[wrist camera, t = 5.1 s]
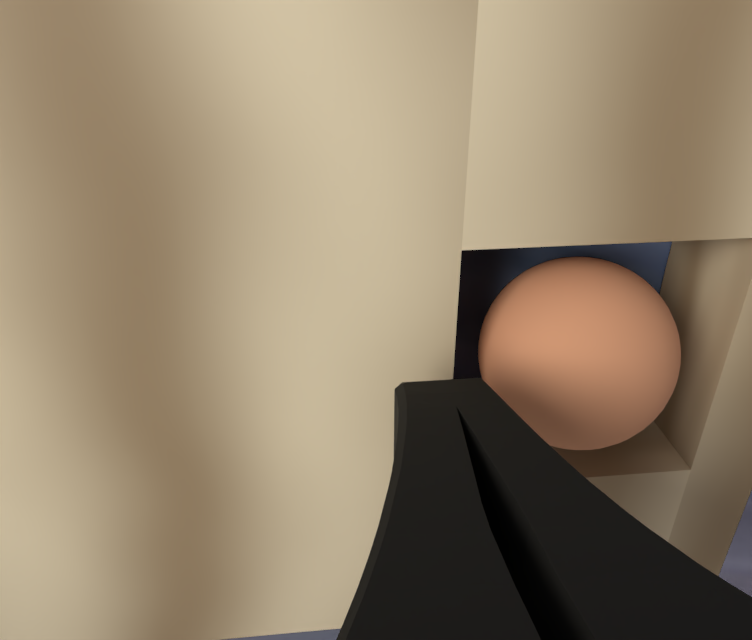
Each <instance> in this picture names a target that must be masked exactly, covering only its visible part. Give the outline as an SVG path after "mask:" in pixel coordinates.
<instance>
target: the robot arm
mask: <svg viewBox="0 0 752 640" xmlns="http://www.w3.org/2000/svg"><path fill="white" fill-rule="evenodd" d="M336 640H752V597H751V596H749V595H747V594H746V593H744V592H742V591H741V590H739V589H737V588H736V587H734V586H733V585H731V584H729V583H728V582H726V581H725V580H723V579H722V578H720V577H718V576H717V575H715V574H714V573H712V572H711V571H709V570H708V569H706V568H705V567H703V566H702V565H700V564H699V563H697V562H696V561H694V560H693V559H691V558H690V557H689V556H687V555H686V554H684V553H683V552H681V551H680V550H679V549H677V548H676V547H674V546H673V545H672V544H670V543H669V542H667V541H666V540H664V539H663V538H662V537H660V536H659V535H657V534H656V533H655V532H653V531H652V530H650V529H649V528H648V527H646V526H645V525H644V524H642V523H641V522H640V521H638V520H637V519H636V518H634V517H633V516H632V515H630V514H629V513H628V512H627V511H625V510H624V509H623V508H622V507H620V506H619V505H618V504H617V503H615V502H614V501H613V500H612V499H611V498H609V497H608V496H607V495H606V494H604V493H603V492H602V491H601V490H599V489H598V488H597V487H596V486H595V485H593V484H592V483H591V482H590V481H589V480H587V479H586V478H585V477H584V476H583V475H582V474H580V473H579V472H578V471H577V470H576V469H575V468H574V467H573V466H572V465H570V464H569V463H568V462H567V461H566V460H565V459H564V458H563V457H562V456H561V455H560V454H558V453H557V452H556V451H555V450H554V449H553V448H552V447H551V446H550V445H549V444H547V443H546V442H545V441H544V440H543V439H542V438H541V437H540V436H539V435H538V434H537V433H536V432H535V431H534V430H533V429H532V428H531V427H530V426H529V425H528V424H527V423H526V422H525V421H524V420H523V419H522V418H521V417H520V416H519V415H518V414H517V413H516V412H515V411H514V410H513V409H512V408H511V407H510V406H509V405H508V404H507V403H506V402H505V401H504V400H503V399H502V398H501V397H500V396H499V395H498V394H497V393H496V392H495V391H494V390H493V389H492V388H491V387H490V386H489V385H488V384H487V383H486V382H485V381H483V380H482V379H481V378H466V379H449V380H433V381H416V382H402V383H401V384H400V385H399V386H397V387H396V388H395V391H394V461H393V467H392V473H391V478H390V482H389V487H388V490H387V494H386V498H385V502H384V506H383V510H382V514H381V518H380V521H379V525H378V528H377V532H376V535H375V538H374V541H373V545H372V548H371V551H370V554H369V557H368V560H367V563H366V565H365V568H364V571H363V574H362V577H361V580H360V582H359V585H358V588H357V590H356V593H355V595H354V598H353V600H352V603H351V605H350V608H349V610H348V613H347V615H346V618H345V620H344V623H343V625H342V628H341V630H340V633H339V635H338V637H337V639H336Z"/></svg>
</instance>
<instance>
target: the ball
mask: <svg viewBox="0 0 752 640" xmlns="http://www.w3.org/2000/svg"><path fill="white" fill-rule="evenodd" d="M478 358H479V367H480V372H481V376H482V380H483V381H485V382H486V383H487V384H488V385H489V386H490V387H491V388H492V389H493V390H494V391H495V392H496V393H497V394H498V395H499V396H500V397H501V398H502V399H503V400H504V401H505V402H506V403H507V404H508V405H509V406H510V407H511V408H512V409H513V410H514V411H515V412H516V413H517V414H518V415H519V416H520V417H521V418H522V419H523V420H524V421H525V422H526V423H527V424H528V425H529V426H530V427H531V428H532V429H533V430H534V431H535V432H536V433H537V434H538V435H539V436H540V437H541V438H542V439H543V440H544V441H545V442H546V443H547V444H549V445H550V446H553V447H557V448H562V449H569V450H593V449H600V448H605V447H608V446H612V445H615V444H618V443H621V442H623V441H625V440H628V439H629V438H631V437H633V436H634V435H636V434H637V433H639V432H641V431H642V430H644V429H645V428H646V427H647V426H648V425H649V424H651V423H652V422H653V421H654V420H655V419H656V418H657V416H658V415H659V414H660V413H661V412H662V410H663V409H664V408H665V406H666V404H667V403H668V401H669V399H670V397H671V395H672V394H673V391H674V389H675V386H676V383H677V380H678V376H679V371H680V365H681V346H680V339H679V333H678V330H677V326H676V323H675V321H674V319H673V317H672V314H671V312H670V310H669V308H668V306H667V305H666V303H665V302H664V300H663V299H662V297H661V296H660V295H659V294H658V293H657V291H656V290H655V289H654V288H653V287H652V286H651V285H650V284H649V283H647V282H646V281H645V280H644V279H643V278H641V277H640V276H638V275H637V274H636V273H634V272H632V271H630V270H629V269H627V268H625V267H623V266H621V265H618V264H616V263H613V262H610V261H606V260H603V259H598V258H592V257H565V258H558V259H554V260H549V261H546V262H544V263H541V264H538V265H536V266H533V267H531V268H530V269H528V270H526V271H524V272H522V273H521V274H520V275H519V276H517V277H516V278H515V279H513V280H512V281H511V282H509V283H508V284H507V285H506V286H505V287H504V288H503V289H502V291H501V292H500V293H499V294H498V295H497V297H496V298H495V300H494V301H493V302H492V304H491V306H490V308H489V310H488V312H487V314H486V316H485V318H484V321H483V324H482V327H481V332H480V337H479V344H478Z"/></svg>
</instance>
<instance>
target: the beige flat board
mask: <svg viewBox="0 0 752 640" xmlns="http://www.w3.org/2000/svg"><path fill="white" fill-rule="evenodd" d="M669 241H672V245H671V249H670V253H669V257H668V261H667V265H666V270H665V274H664V278H663V282H662V286H661V290H660V294H659V295H660V296H661V297H662V299H663V300H664V302H665V303H666V305H667V306H668V308H669V310H670V312H671V314H672V317H673V319H674V321H675V323H676V326H677V330H678V333H679V339H680V346H681V365H680V371H679V376H678V380H677V383H676V386H675V389H674V391H673V394H672V395H671V397H670V399H669V401H668V403H667V404H666V406H665V408H664V409H663V410H662V412H661V413H660V414H659V415H658V416H657V418H656V419H655V420H654V421H653V422H652V423H651V424H649V425H648V426H647V427H646V428H645V429H644V430H642V431H641V432H639V433H637V434H636V435H634V436H633V437H631V438H629V439H628V440H625V441H623V442H621V443H618V444H615V445H612V446H608V447H605V448H600V449H593V450H569V449H562V448H557V447H553V446H551V447H552V448H553V449H554V450H555V451H556V452H557V453H558V454H560V455H561V456H562V457H563V458H564V459H565V460H566V461H567V462H568V463H569V464H570V465H572V466H573V467H574V468H575V469H576V470H577V471H578V472H579V473H580V474H582V475H583V476H584V477H585V478H586V479H587V480H589V481H590V482H591V483H592V484H593V485H595V486H596V487H597V488H598V489H599V490H601V491H602V492H603V493H604V494H606V495H607V496H608V497H609V498H611V499H612V500H613V501H614V502H615V503H617V504H618V505H619V506H620V507H622V508H623V509H624V510H625V511H627V512H628V513H629V514H630V515H632V516H633V517H634V518H636V519H637V520H638V521H640V522H641V523H642V524H644V525H645V526H646V527H648V528H649V529H650V530H652V531H653V532H655V533H656V534H657V535H659V536H660V537H662V538H663V539H664V540H666V541H667V542H669V543H670V544H672V545H673V546H674V547H676V548H677V549H679V550H680V551H681V552H683V553H684V554H686V555H687V556H689V557H690V558H691V559H693V560H694V561H696V562H697V563H699V564H700V565H702V566H703V567H705V568H706V569H708V570H709V571H711V572H712V573H714V574H715V575H717V576H718V575H719V573H720V570H721V568H722V565H723V563H724V560H725V557H726V555H727V552H728V550H729V547H730V544H731V542H732V539H733V537H734V534H735V532H736V529H737V526H738V524H739V521H740V519H741V516H742V513H743V511H744V508H745V506H746V503H747V501H748V498H749V495H750V493H751V490H752V0H0V640H220V639H230V638H241V637H252V636H263V635H274V634H285V633H296V632H307V631H318V630H329V629H339V628H342V625H343V623H344V620H345V618H346V615H347V613H348V610H349V608H350V605H351V603H352V600H353V598H354V595H355V593H356V590H357V588H358V585H359V582H360V580H361V577H362V574H363V571H364V568H365V565H366V563H367V560H368V557H369V554H370V551H371V548H372V545H373V541H374V538H375V535H376V532H377V528H378V525H379V521H380V518H381V514H382V510H383V506H384V502H385V498H386V494H387V490H388V487H389V482H390V478H391V473H392V467H393V461H394V391H395V388H396V387H397V386H399V385H400V384H401V383H402V382H416V381H433V380H449V379H453V371H454V356H455V342H456V327H457V312H458V297H459V282H460V267H461V253H462V250H482V249H506V248H529V247H552V246H575V245H599V244H622V243H645V242H669Z"/></svg>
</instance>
